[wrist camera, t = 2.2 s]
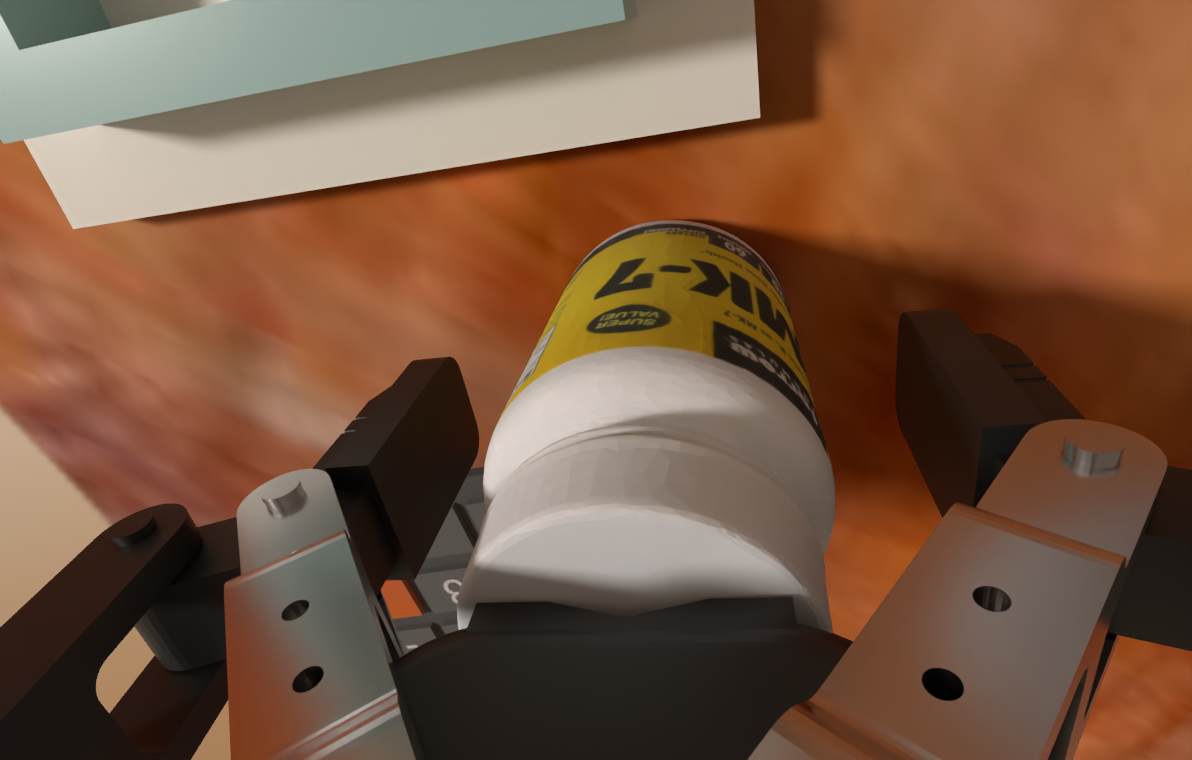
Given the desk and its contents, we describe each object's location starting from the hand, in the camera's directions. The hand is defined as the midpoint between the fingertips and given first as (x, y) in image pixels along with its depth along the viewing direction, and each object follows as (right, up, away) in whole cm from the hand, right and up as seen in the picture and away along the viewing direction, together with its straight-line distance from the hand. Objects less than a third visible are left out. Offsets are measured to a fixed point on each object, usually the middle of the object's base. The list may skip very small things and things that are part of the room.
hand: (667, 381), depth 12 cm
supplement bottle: (0, +1, +2) cm, 3 cm away
